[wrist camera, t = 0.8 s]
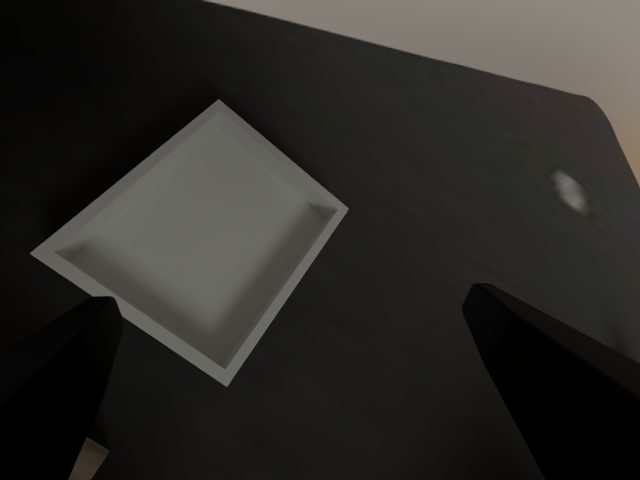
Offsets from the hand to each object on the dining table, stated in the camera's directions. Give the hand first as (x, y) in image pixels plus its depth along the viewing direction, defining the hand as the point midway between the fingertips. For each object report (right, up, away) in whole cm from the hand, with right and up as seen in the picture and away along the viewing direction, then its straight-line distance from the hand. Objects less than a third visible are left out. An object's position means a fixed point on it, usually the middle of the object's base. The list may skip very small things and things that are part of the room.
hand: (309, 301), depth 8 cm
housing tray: (-6, +2, +12) cm, 14 cm away
